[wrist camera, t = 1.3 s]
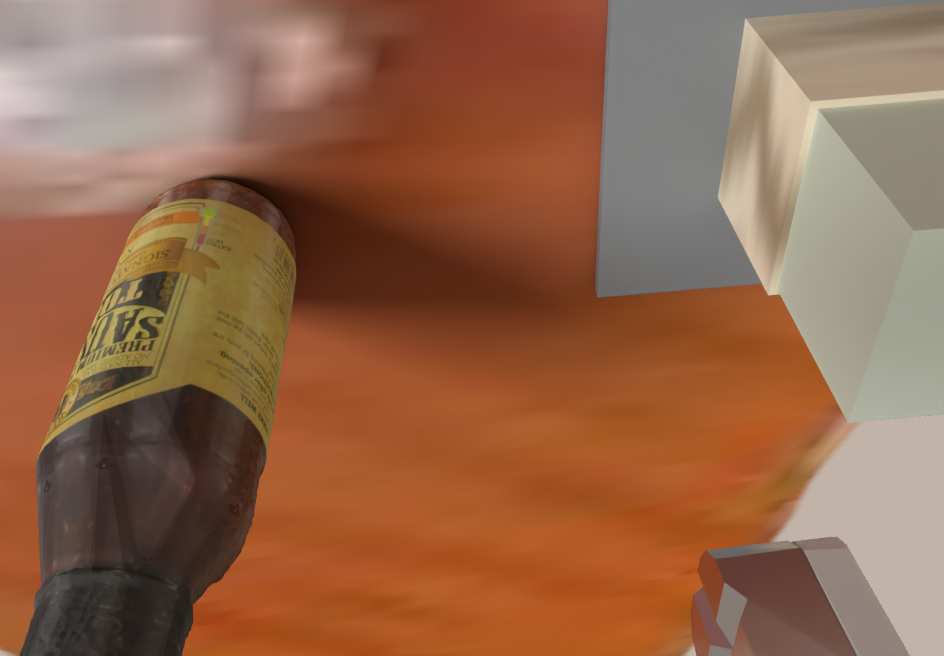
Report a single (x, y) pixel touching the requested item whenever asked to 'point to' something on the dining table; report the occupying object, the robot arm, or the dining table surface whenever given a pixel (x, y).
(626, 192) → the slate mat
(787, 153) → the birch block
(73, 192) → the dining table surface
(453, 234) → the dining table surface
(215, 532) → the sauce bottle
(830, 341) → the sage block
